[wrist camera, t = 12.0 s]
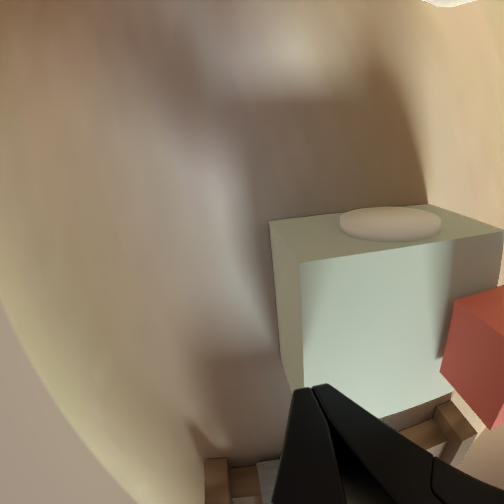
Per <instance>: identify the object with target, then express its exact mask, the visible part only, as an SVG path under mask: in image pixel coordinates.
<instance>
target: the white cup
mask: <svg viewBox="0 0 504 504" xmlns="http://www.w3.org/2000/svg"><path fill="white" fill-rule="evenodd" d="M422 1H425V2H427V3H430V4H432V5H435V6H437V7H455V6H458V5H461V4H465V3H468V2H472V1H476V0H422Z"/></svg>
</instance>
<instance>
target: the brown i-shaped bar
mask: <svg viewBox="0 0 504 504" xmlns="http://www.w3.org/2000/svg"><path fill="white" fill-rule="evenodd" d="M398 432H399V433H401V434H402V435H404V436H405V437H407V438H408V439H410V440H411V441H413V442H414V443H416V444H417V445H419V446H421V447H422V448H424V449H425V450H427V451H428V452H430V453H432V454H433V457H435V456H436V457H438V458H440V459H441V460H443V461H445V462H446V463H448V464H450V465H451V466H453V467H455V468H457V469H458V467H459V466H460V464H461V462H462V460H463V459H464V457H465V455H466V454H467V451H468V450H469V448H470V446H471V445H472V443H473V441H474V439H475V437H476V435H477V432H476V431H475V429H474V428H473V427H472V426H471V424H470V423H469V422H468V421H467V419H466V418H465V417H464V416H463V414H462V413H461V412H460V411H459V409H458V408H457V407H456V406H455V405H454V403H453V402H452V401H451V400H450V401H448V402H446V403H443V404H441V405H438V406H436V409H435V412H434V415H433V418H432V419H430V420H428V421H425V422H423V423H420V424H417V425H415V426H412V427H410V428H407V429H404V430H401V431H398ZM205 504H263V503H262V496H261V490H260V482H259V476H258V469H257V466H249V467H241V468H232V469H229V466H228V463H227V460H226V458H219V459H206V460H205Z"/></svg>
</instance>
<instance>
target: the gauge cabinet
mask: <svg viewBox="0 0 504 504" xmlns="http://www.w3.org/2000/svg"><path fill="white" fill-rule="evenodd" d="M269 229H270V239H271V250H272V260H273V271H274V283H275V294H276V305H277V317H278V329H279V341H280V354H281V362H282V365H283V368H284V371H285V375H286V378H287V381H288V385H289V388H290V391H291V394H293V391H294V390H295V389H299V388H304V387H310V388H311V387H312V386H315V385H320V384H325V383H328V384H330V385H331V386H333V387H334V388H336V389H337V390H338V391H340V392H341V393H343V394H344V395H345V396H347V397H348V398H350V399H351V400H352V401H354V402H355V403H357V404H358V405H360V406H361V407H362V408H364V409H365V410H367V411H368V412H370V413H371V414H373V415H374V416H375V417H377V418H378V419H379V418H382V417H385V416H388V415H391V414H395V413H398V412H400V411H403V410H406V409H409V408H412V407H415V406H417V405H420V404H423V403H425V402H428V401H431V400H433V399H436V398H438V397H441V396H443V395H445V394H448V393H450V392H453V391H455V389H454V388H453V387H452V385H451V384H450V383H449V382H448V381H447V380H446V379H445V378H444V376H443V375H442V374H441V373H440V372H439V371H440V367H441V363H442V359H443V355H444V351H445V347H446V342H447V337H448V333H449V328H450V323H451V318H452V312H453V306H454V300H457V299H460V298H463V297H467V296H470V295H473V294H477V293H480V292H483V291H486V290H490V289H493V288H496V287H497V284H498V279H499V273H500V266H501V259H502V252H503V243H504V230H502V229H499V228H497V227H494V226H491V225H489V224H486V223H483V222H480V221H478V220H475V219H472V218H469V217H466V216H463V215H461V214H458V213H455V212H452V211H449V210H446V209H443V208H440V207H437V206H433V205H430V204H423V205H412V206H402V207H371V208H362V209H357V210H352V211H349V212H343V213H334V214H325V215H316V216H307V217H299V218H290V219H282V220H274V221H269Z"/></svg>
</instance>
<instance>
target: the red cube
mask: <svg viewBox="0 0 504 504" xmlns="http://www.w3.org/2000/svg"><path fill="white" fill-rule="evenodd" d="M439 372H440V373H441V374H442V375H443V376H444V378H445V379H446V380H447V381H448V382H449V383H450V384H451V385H452V387H453V388H454V389H455V390H456V391H457V392H458V393H459V395H460V396H461V397H462V398H463V399H464V400H465V402H466V403H467V404H468V405H469V406H470V407H471V409H472V410H473V411H474V412H475V413H476V414H477V416H478V417H479V418H480V419H481V420H482V422H483V423H484V424H485V425H486V426H487V428H488V429H489V430H492V429H493V428H495V427H497V426H499V425H500V424H502V423H503V422H504V285H502V286H499V287H496V288H493V289H490V290H486V291H483V292H480V293H477V294H473V295H470V296H467V297H463V298H460V299H457V300H454V306H453V312H452V318H451V323H450V328H449V333H448V337H447V342H446V347H445V351H444V355H443V359H442V363H441V367H440V371H439Z"/></svg>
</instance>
